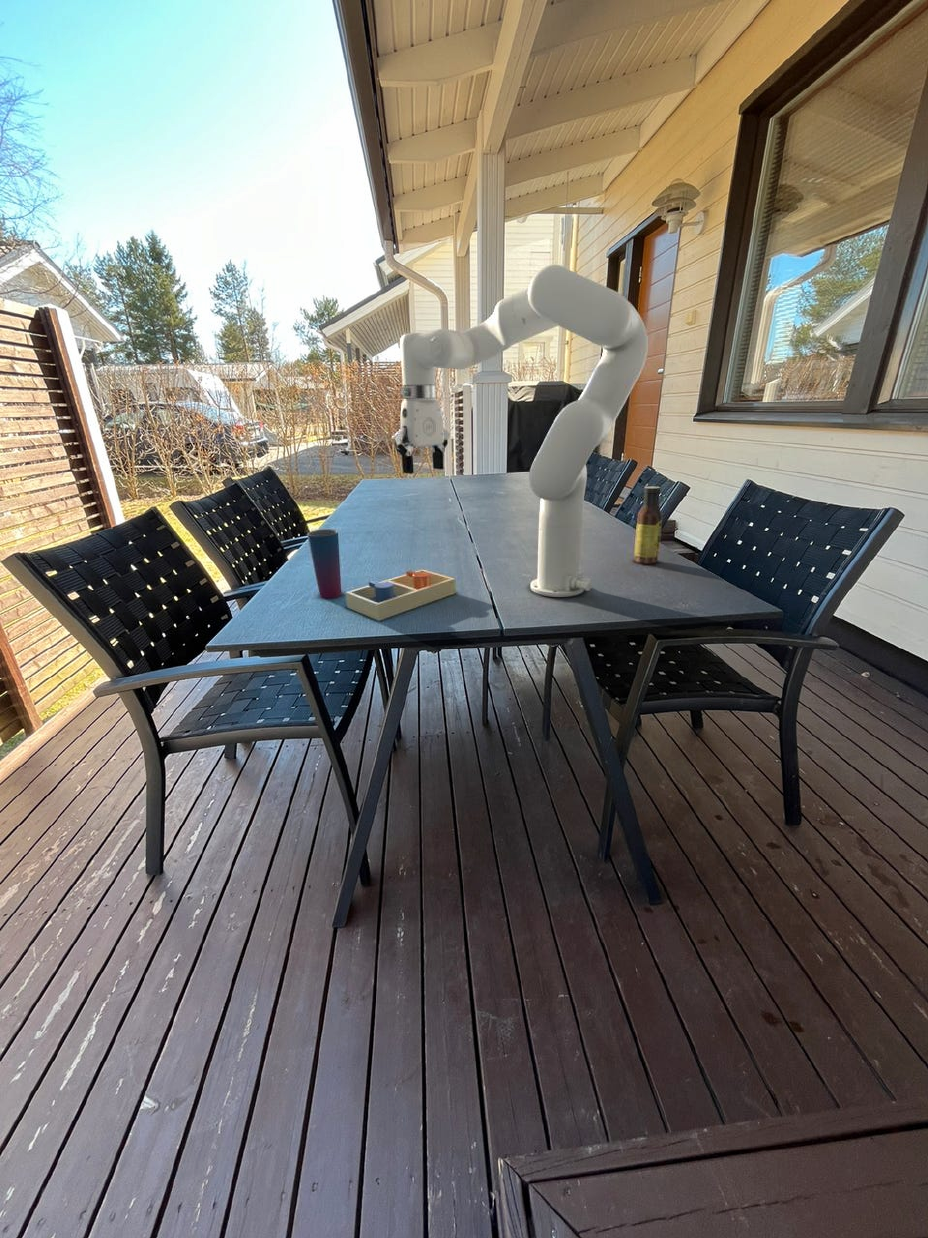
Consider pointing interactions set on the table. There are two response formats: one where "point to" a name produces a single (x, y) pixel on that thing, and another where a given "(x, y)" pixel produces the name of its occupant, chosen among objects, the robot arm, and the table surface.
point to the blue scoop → (382, 590)
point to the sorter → (400, 596)
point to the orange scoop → (419, 579)
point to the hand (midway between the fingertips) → (423, 470)
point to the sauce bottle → (648, 528)
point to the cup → (326, 561)
